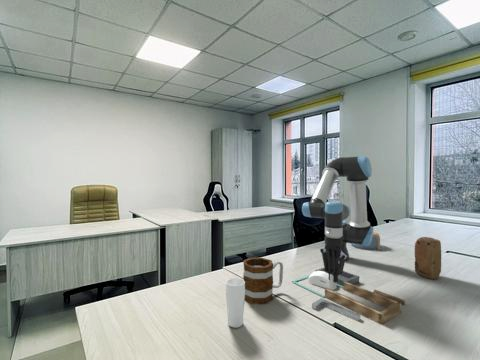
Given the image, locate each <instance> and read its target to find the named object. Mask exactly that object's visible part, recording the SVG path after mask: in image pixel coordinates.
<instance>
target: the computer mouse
mask: <svg viewBox="0 0 480 360" xmlns="http://www.w3.org/2000/svg"><path fill="white" fill-rule="evenodd" d="M308 276H309V275H308ZM307 279H308V284H311V285H313V286H317V287H320V288H324V289H329V290H331V291H332V289H330V280H329V274H328V273H326V272H324V271H316V272H315V271H313V272H312V273H311V274H310V276H309V278H307Z"/></svg>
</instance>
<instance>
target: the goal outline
mask: <svg viewBox="0 0 480 360" xmlns="http://www.w3.org/2000/svg"><path fill="white" fill-rule="evenodd" d="M310 275H311V274H310ZM310 275H306V276H304V277H301V278H298V279H294V280H292V281H291V282H292V284H294V285H296V286H298V287H300V288H303V289H305V290H306V291H309V292H311V293H313V294H315V295H318V296H319V297H321V298H322V299H324V298H325V294H322V293H320V292H319V291H315V290H313V289H311V288H309V287H307V286H305V285H303V284H301V283H298V282H300V281H303V280H306V279H308V278H309V276H310ZM336 287H338V288H341V289H343V286H341V285H338V284H336Z"/></svg>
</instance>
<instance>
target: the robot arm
mask: <svg viewBox="0 0 480 360" xmlns="http://www.w3.org/2000/svg"><path fill="white" fill-rule="evenodd" d="M371 163H372V162H371V161H370V158H369V157H368V156H359V155H358V156H347V157H345V156H344V157H337V158H335V159H332V160H331V161H329V162H328V163H327V164H325V166H324V168H323V170H322V173H321V175H322V176H321V178H320V180H319V182H318V185H317V186H316V188H315V190H314V193H313V195H312V197H311V199H310V201H307V202H304V203H303V204H302V207H301V212H302V215H303V216H304V217H307V218H310V219H311V218H316V219H324V235H325V236H324V247H323V248H320V249H319V251H320V253H321V257H322V261H323V268H325V271H327V272H328V273H329V280H330V289H331V291H333V290H336V289H337V286H336V282H338V275H341V274H342V272H343V271H344V268H345V264H346V261H349V260H350V254H349V251H348V247H347V244H350V243H351V245H352V244H357V245H365V246H369V245H370V244H371V241H372V237H373V231H374V227H373V226H371V222H370V221H368V211H367V209H368V208H367V207H368V206H367V203H368V202H367V184H366V183H367V182H368V181H369V178H371V177H372V175H373V174H372V173H373V172H372V171H373V170H372V169H373V168H372V164H371ZM341 177H342V178H343V177H344V178H346V181H347V182H348V183H349V196H350V198H349V199H350V207H349V206H348V205H347V204H345V203H342V202H341V201H340V202H339V201H328V198H329V197H330V194H331V191H332V189H333V186H334V184H335V182H336V181H337V180H338V179H339V178H341ZM350 215H351V218H350V221H349V223H347V221H345V220H346V219H348V218H349V217H350ZM330 289H329V290H330Z"/></svg>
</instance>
